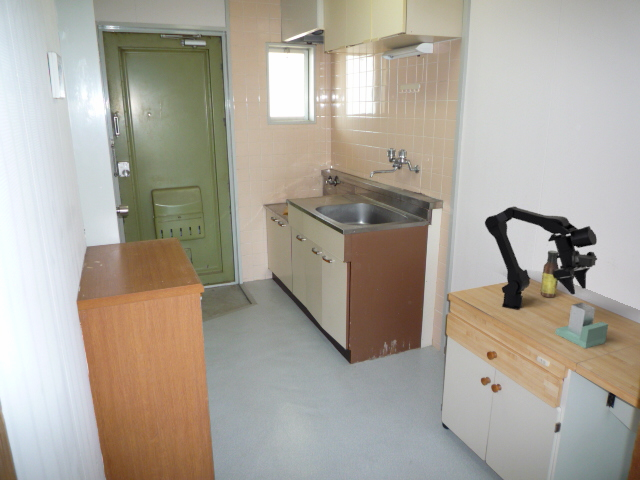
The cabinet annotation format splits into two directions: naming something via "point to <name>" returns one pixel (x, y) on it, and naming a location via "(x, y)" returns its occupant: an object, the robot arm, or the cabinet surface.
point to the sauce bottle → (549, 276)
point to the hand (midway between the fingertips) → (578, 291)
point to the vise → (586, 334)
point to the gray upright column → (580, 317)
